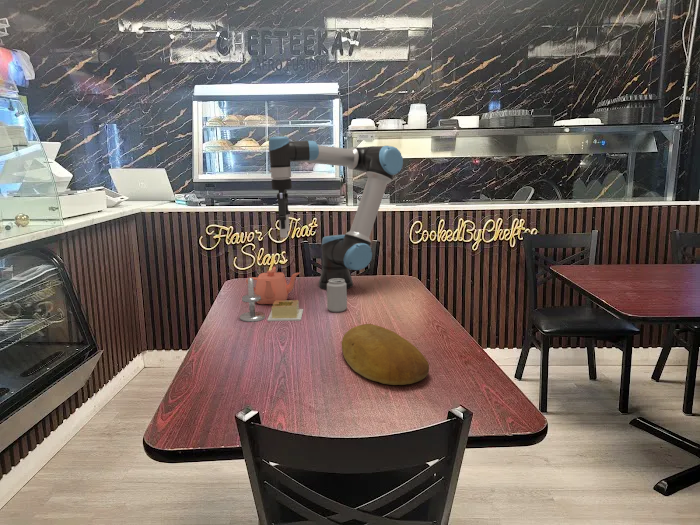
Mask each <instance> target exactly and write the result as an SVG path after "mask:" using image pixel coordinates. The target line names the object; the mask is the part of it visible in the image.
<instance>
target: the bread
mask: <svg viewBox="0 0 700 525" xmlns="http://www.w3.org/2000/svg"><path fill="white" fill-rule="evenodd" d="M341 339H342V340H341V351H342V355H343V358H344V360H345V361H346V362H347V365H348V366H350V368H351V369H353V371H354V372H356V373H357V374H358V375H360V376H362V377H364V378H365V379H368V380H370V381H373V382H377V383H380V384H383V385H391V386H398V385H399V386H405V385H411V384H414V383H418V382H420V381H422V380H423V379H425V378H426V377H427V376H428V374H429V373H430V364H429V361H428V360H427V358H426V357H425V355H424V354H423V353H421V351H420V350H419V349H418V348H417V346H415V345H414V344H413V343H412V342H410V341H409V340H407V339H406V338H405V337H403V336H401V335H400V334H398V333H396V332H394V331H392V330H390V329H388V328H385V327H383V326H381V325H376V324H372V323H364V324H359V325H356V326H353V327H352V328H350V329H348V331H346V332H345V333H344V334H343V336H342V338H341Z"/></svg>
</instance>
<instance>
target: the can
mask: <svg viewBox="0 0 700 525" xmlns="http://www.w3.org/2000/svg"><path fill="white" fill-rule="evenodd" d="M328 281H329V282H328V283H327V289H326V300H327V302H326V304H327V305H326V306H327V308H326V309H327V310H329V311H330V312H332V313H343V312H344V311H346V310H347V308H348V305H347V304H348V297H347V296H348V294H347V291H348V289H347V285H346V283H345V282H344V281H345V280H344V279H341V278H333V279H329V280H328Z"/></svg>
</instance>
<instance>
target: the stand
mask: <svg viewBox="0 0 700 525" xmlns="http://www.w3.org/2000/svg"><path fill="white" fill-rule="evenodd" d="M247 278H248V284H247V288H248V292H247V293H248V294H246V295H243V296H242V297H241V301H242V302H244V303H248V306H249V307H248V308H249V310H248V311H247V312H243V313H241V314H240V315H239V320H241V321H242V322H245V323H248V322H249V323H252V322H253V323H255V322H259V321H263V320H265V318H266V314H265V313H264V312H262V311H256V306H255V305H256V303H257V301H260V300H261V296H260V295H255V292H254V288H255V286H254V280H253V278H250V277H247ZM255 302H256V303H255ZM254 321H255V322H254Z"/></svg>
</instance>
